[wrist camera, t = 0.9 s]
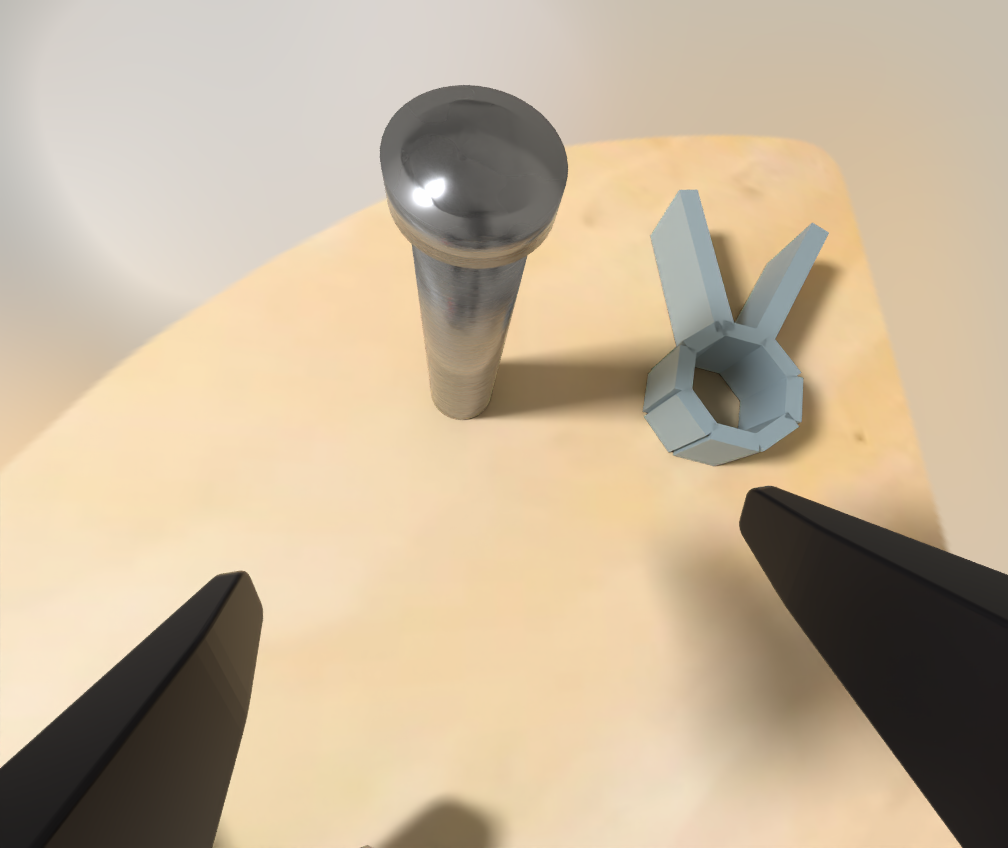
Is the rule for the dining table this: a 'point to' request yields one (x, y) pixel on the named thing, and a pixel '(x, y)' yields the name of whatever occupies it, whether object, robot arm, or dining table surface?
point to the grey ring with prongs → (724, 341)
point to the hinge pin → (470, 223)
